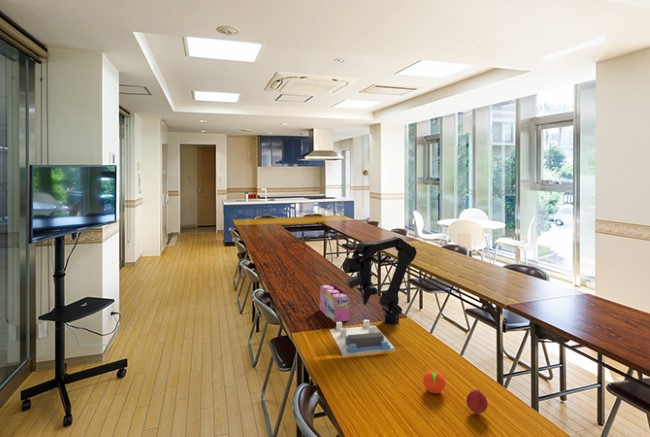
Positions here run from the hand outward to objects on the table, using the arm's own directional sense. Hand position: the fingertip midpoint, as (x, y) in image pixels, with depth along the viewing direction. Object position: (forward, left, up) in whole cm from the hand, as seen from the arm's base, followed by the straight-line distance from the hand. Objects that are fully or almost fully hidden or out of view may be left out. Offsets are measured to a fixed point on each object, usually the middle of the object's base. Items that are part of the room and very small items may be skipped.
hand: (364, 304), depth 174 cm
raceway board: (+5, +10, -12) cm, 17 cm away
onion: (-14, +66, -13) cm, 69 cm away
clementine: (-7, +53, -13) cm, 55 cm away
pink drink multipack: (+9, -22, -13) cm, 27 cm away
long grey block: (+5, +18, -11) cm, 22 cm away
